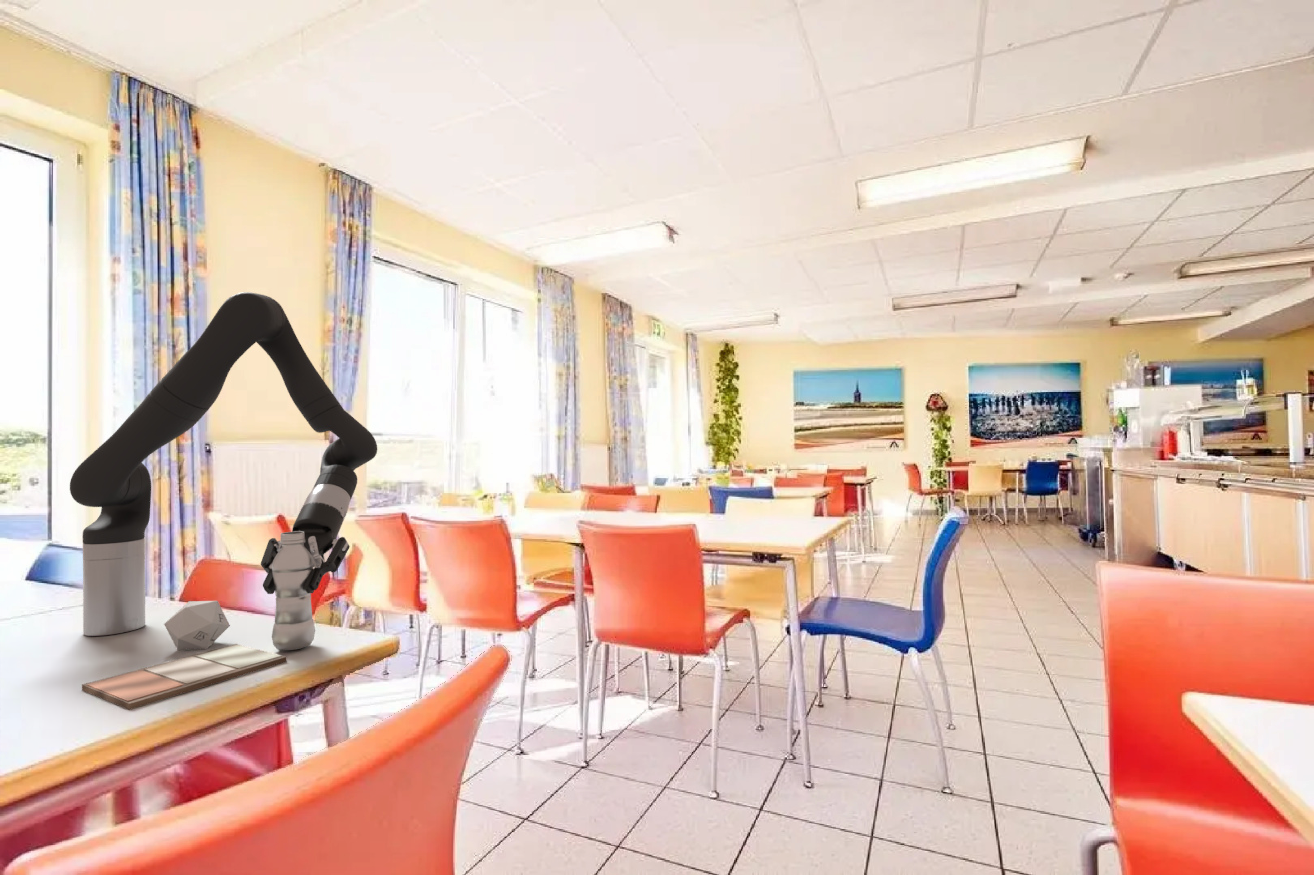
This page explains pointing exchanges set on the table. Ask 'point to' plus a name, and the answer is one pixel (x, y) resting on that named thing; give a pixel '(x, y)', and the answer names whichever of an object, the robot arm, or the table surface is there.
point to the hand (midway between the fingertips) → (288, 591)
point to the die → (197, 625)
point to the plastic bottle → (292, 594)
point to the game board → (181, 675)
